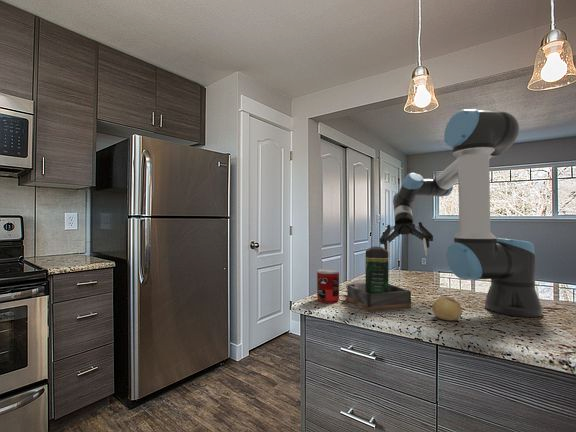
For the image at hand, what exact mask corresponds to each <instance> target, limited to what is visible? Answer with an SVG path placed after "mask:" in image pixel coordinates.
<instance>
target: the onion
mask: <svg viewBox="0 0 576 432" xmlns="http://www.w3.org/2000/svg"><path fill="white" fill-rule="evenodd" d="M454 298H455V296H453V297H449V296H442V297H439V298H437V299H435V300H434V301H433V303H432V306H431V308H432V312H433V314H434V316H435V317H437V318H438V319H440V320H443V321H457V320H459V319H460V318H461V317H462V314H463V307H462V306H461V304H460V302H458V301H457V300H456V299H454Z"/></svg>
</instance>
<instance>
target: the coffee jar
mask: <svg viewBox="0 0 576 432" xmlns="http://www.w3.org/2000/svg"><path fill="white" fill-rule="evenodd" d="M364 266H365V280H366V281H365V292H367V293H369V294H373V293H386V292H388V284H389V275H390V274H389V271H390V269H389V266H390V265H389V257H388V251H387V250H386V249H385V248H383V247H382V246H376V245H375V246H371V247H369V248H367V249H366V250H365V265H364Z"/></svg>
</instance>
